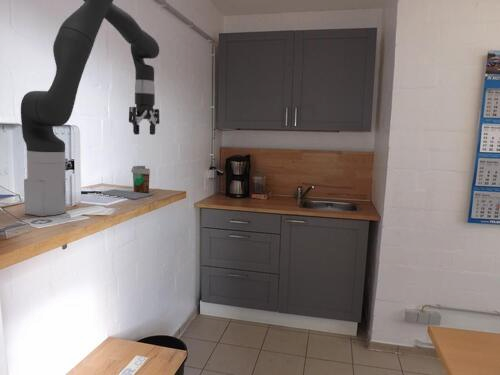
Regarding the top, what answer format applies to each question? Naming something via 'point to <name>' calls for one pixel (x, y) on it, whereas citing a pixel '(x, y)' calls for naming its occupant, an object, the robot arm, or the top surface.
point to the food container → (141, 179)
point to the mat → (125, 194)
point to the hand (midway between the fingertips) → (144, 134)
